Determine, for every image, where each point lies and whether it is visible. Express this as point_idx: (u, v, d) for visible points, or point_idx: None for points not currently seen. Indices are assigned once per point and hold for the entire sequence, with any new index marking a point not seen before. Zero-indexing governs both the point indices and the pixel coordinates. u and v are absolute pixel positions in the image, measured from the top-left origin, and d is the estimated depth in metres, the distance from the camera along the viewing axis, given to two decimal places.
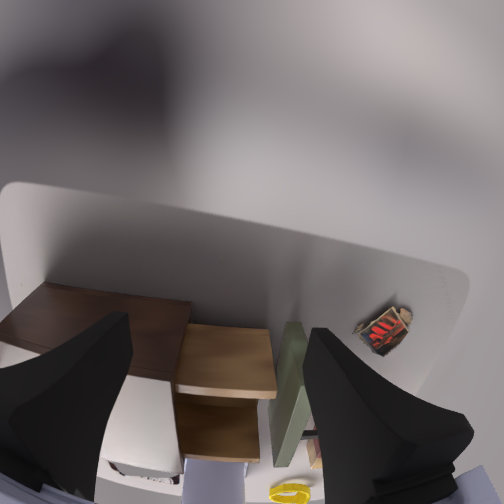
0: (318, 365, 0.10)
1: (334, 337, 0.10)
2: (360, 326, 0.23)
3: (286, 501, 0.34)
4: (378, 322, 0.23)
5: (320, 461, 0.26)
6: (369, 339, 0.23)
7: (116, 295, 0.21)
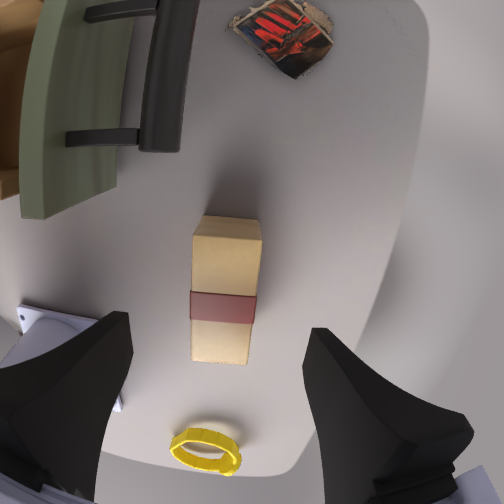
0: (318, 365, 0.10)
1: (334, 337, 0.10)
2: (236, 20, 0.12)
3: (204, 467, 0.23)
4: (265, 12, 0.12)
5: (203, 336, 0.15)
6: (256, 38, 0.12)
7: None
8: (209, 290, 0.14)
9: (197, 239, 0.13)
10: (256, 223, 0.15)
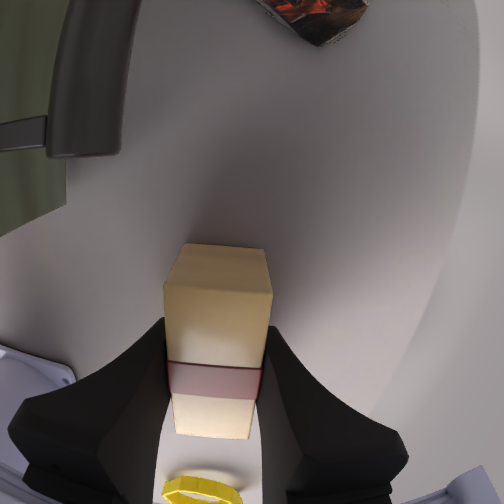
0: None
1: (278, 335, 0.10)
2: None
3: None
4: None
5: (189, 410, 0.10)
6: None
7: None
8: (193, 360, 0.09)
9: (170, 292, 0.08)
10: (262, 256, 0.11)
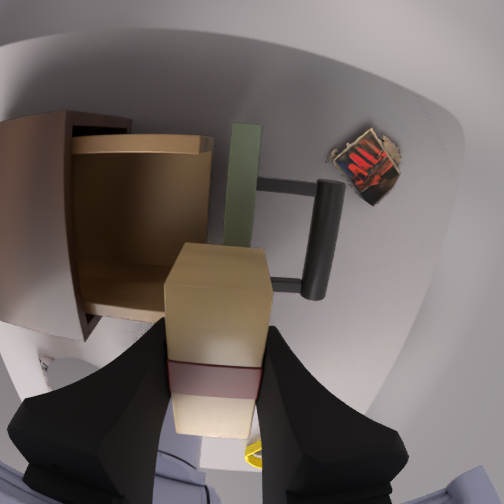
0: None
1: (278, 335, 0.10)
2: (334, 152, 0.19)
3: None
4: (356, 147, 0.18)
5: (189, 410, 0.10)
6: (349, 172, 0.19)
7: None
8: (194, 360, 0.09)
9: (171, 291, 0.08)
10: (262, 256, 0.11)
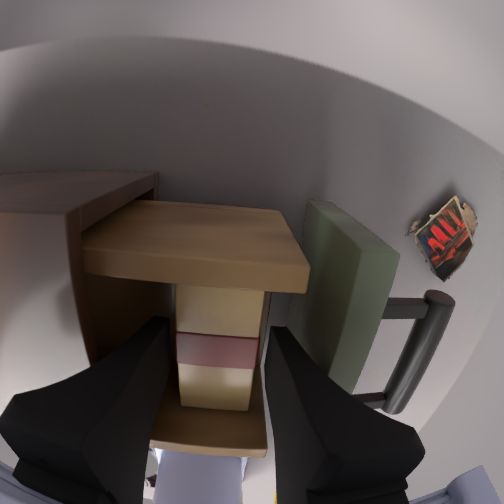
0: (273, 365, 0.10)
1: (291, 336, 0.10)
2: (415, 224, 0.15)
3: None
4: (439, 219, 0.14)
5: (193, 381, 0.11)
6: (427, 247, 0.15)
7: (54, 171, 0.13)
8: (199, 331, 0.10)
9: None
10: None
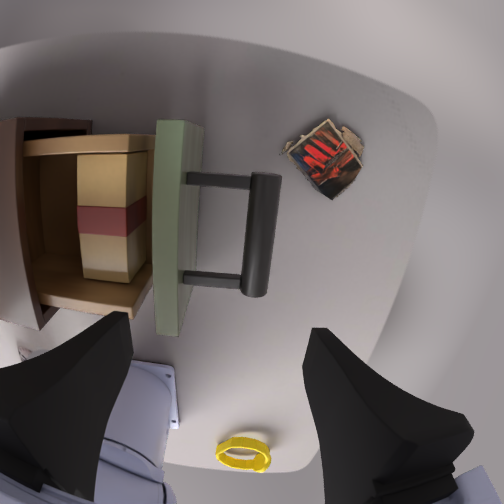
0: (318, 365, 0.10)
1: (334, 337, 0.10)
2: (289, 144, 0.18)
3: (241, 466, 0.29)
4: (312, 139, 0.18)
5: (89, 250, 0.15)
6: (304, 165, 0.19)
7: None
8: (90, 204, 0.14)
9: (80, 158, 0.13)
10: (141, 151, 0.16)
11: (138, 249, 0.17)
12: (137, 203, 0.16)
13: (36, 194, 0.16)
